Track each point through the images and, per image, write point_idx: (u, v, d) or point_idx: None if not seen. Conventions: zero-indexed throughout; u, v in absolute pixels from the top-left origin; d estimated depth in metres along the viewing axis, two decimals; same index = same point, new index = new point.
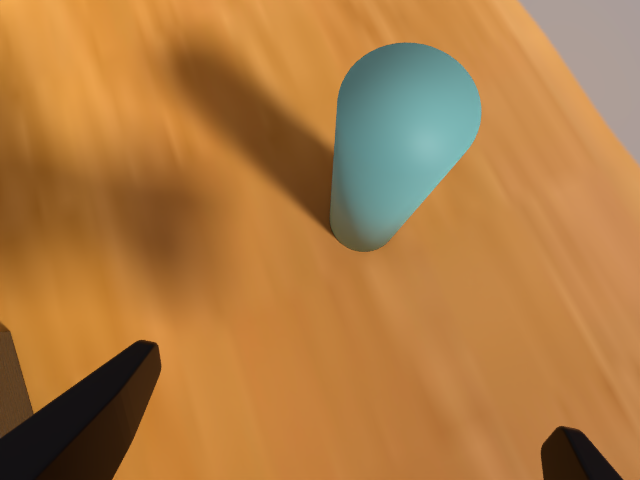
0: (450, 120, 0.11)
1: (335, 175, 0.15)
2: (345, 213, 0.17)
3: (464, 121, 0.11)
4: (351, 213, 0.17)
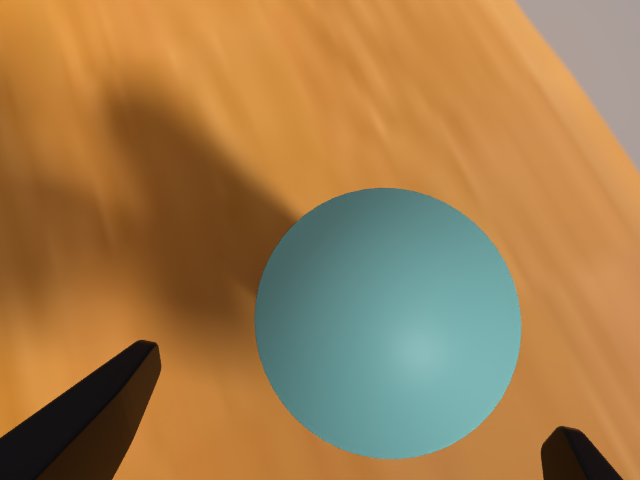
0: (465, 344, 0.06)
1: None
2: None
3: (490, 343, 0.06)
4: None
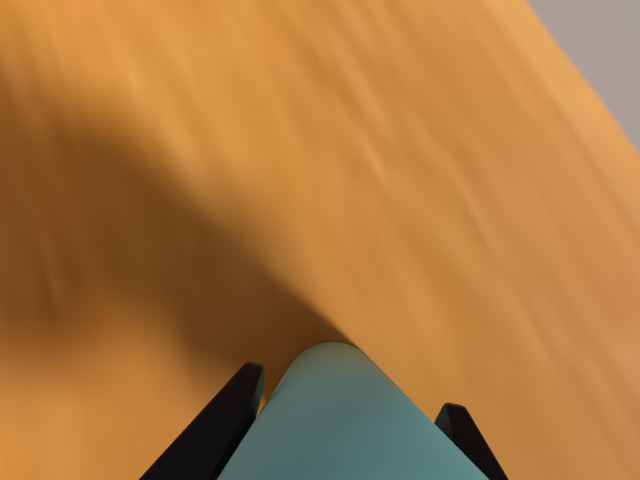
0: None
1: None
2: None
3: None
4: None
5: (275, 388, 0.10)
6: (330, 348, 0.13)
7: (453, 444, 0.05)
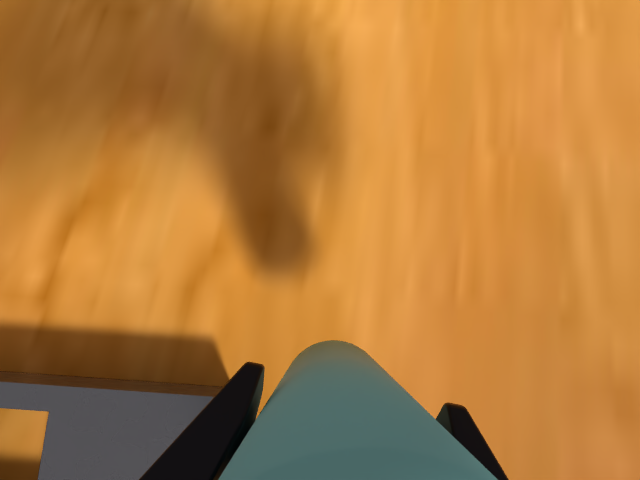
0: None
1: None
2: None
3: None
4: None
5: (277, 386, 0.11)
6: (331, 346, 0.13)
7: (456, 440, 0.05)
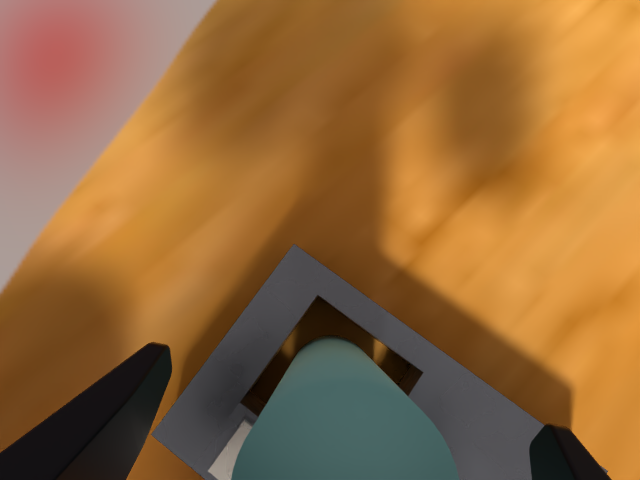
0: None
1: None
2: None
3: None
4: None
5: None
6: (329, 339, 0.17)
7: (398, 387, 0.09)
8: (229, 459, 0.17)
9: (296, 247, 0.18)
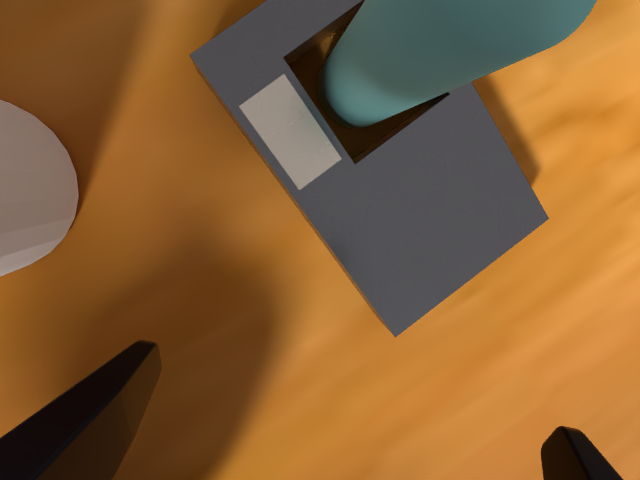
0: None
1: (367, 16, 0.12)
2: (353, 72, 0.14)
3: (575, 0, 0.09)
4: (363, 75, 0.14)
5: None
6: None
7: None
8: (261, 103, 0.18)
9: None
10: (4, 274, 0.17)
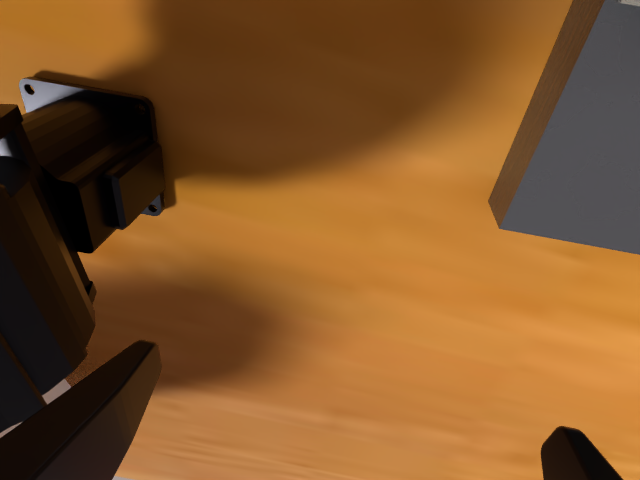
0: None
1: None
2: None
3: None
4: None
5: None
6: None
7: None
8: None
9: None
10: None
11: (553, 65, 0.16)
